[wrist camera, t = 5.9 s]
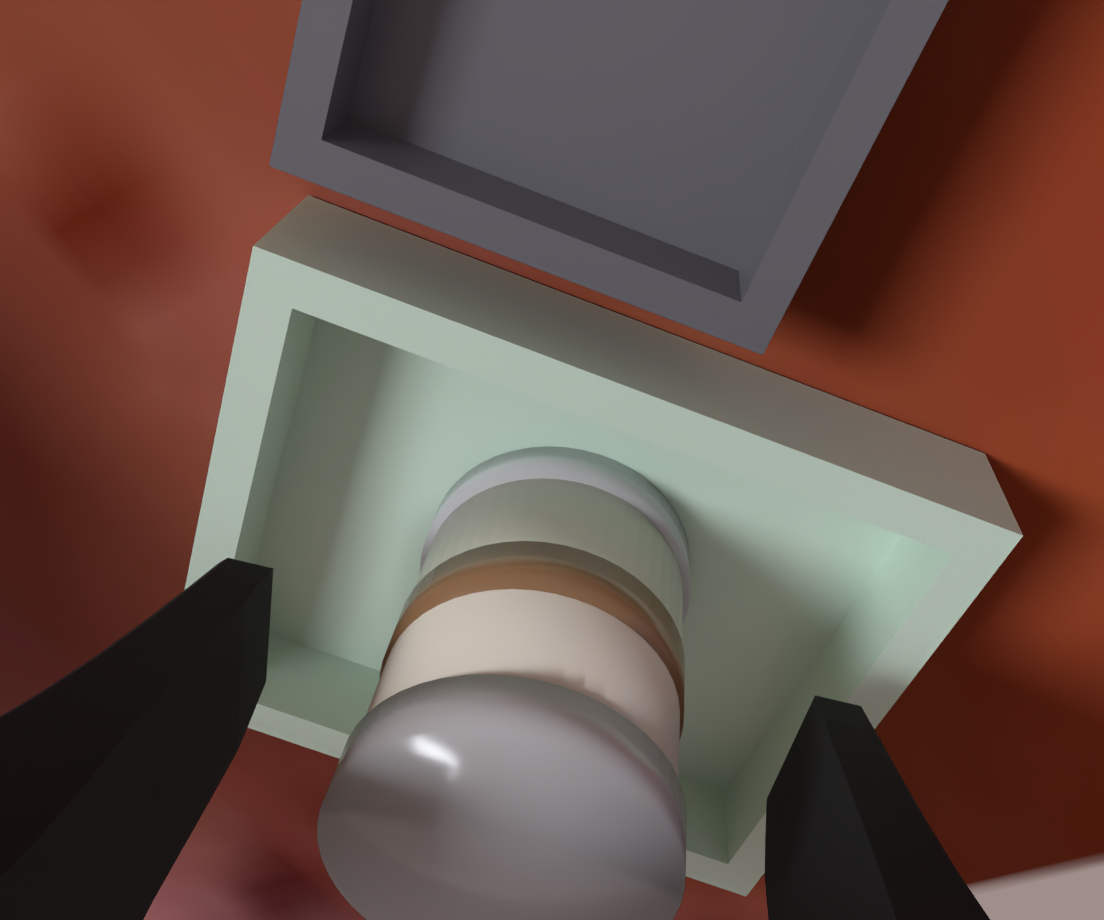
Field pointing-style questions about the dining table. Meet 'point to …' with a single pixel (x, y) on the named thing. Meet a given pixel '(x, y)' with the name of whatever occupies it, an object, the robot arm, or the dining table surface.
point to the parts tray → (599, 427)
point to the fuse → (526, 708)
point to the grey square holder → (608, 133)
